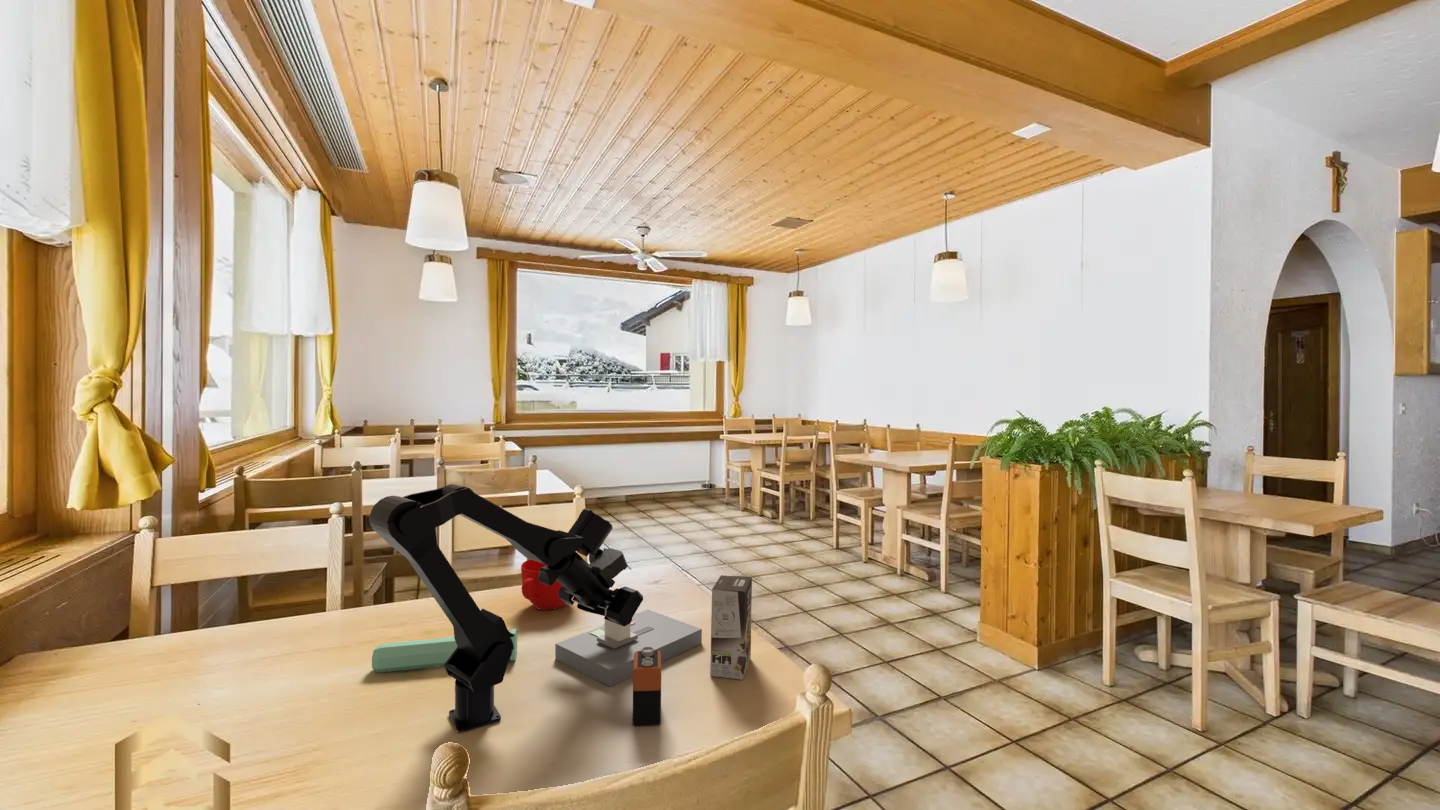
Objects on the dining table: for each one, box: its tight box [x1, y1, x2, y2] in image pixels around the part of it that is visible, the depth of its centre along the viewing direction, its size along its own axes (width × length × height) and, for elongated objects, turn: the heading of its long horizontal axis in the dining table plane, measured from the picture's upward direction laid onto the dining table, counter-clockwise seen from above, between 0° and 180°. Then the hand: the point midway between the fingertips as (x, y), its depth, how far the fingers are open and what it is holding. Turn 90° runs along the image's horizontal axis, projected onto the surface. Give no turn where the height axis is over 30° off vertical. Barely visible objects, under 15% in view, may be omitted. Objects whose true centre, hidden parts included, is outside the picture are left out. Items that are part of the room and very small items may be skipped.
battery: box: [632, 647, 662, 727], centre depth 99 cm, size 4×7×10 cm, turn 6°
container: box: [371, 628, 518, 673], centre depth 115 cm, size 6×6×25 cm
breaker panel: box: [554, 609, 703, 688], centre depth 122 cm, size 24×16×3 cm, turn 140°
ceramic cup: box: [520, 559, 566, 610], centre depth 144 cm, size 13×17×10 cm
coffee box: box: [709, 574, 753, 681], centre depth 115 cm, size 9×6×16 cm
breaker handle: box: [597, 588, 638, 649], centre depth 119 cm, size 6×5×9 cm
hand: (623, 618), depth 120 cm, fingers closed on breaker handle, 4 cm apart
